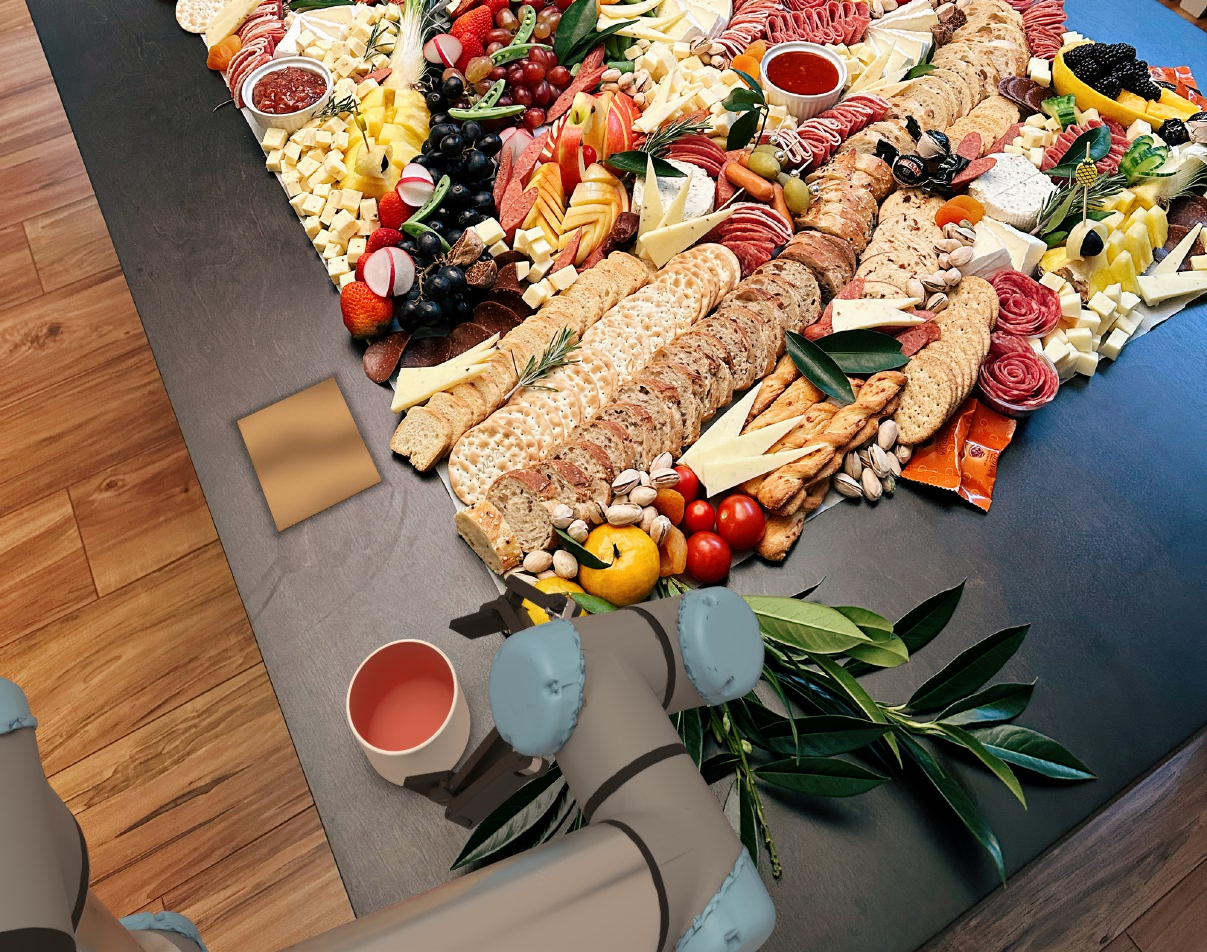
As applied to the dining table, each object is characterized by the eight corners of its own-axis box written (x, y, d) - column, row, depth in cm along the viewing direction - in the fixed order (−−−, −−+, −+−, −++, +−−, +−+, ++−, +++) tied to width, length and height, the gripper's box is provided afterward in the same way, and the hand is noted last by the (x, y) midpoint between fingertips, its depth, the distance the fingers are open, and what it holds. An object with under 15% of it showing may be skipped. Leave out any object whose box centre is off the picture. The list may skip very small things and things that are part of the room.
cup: (480, 774, 107) (466, 737, 100) (373, 804, 106) (351, 769, 99) (463, 667, 114) (448, 625, 107) (362, 695, 113) (341, 654, 106)
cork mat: (381, 481, 129) (381, 480, 129) (278, 532, 125) (278, 531, 125) (334, 377, 139) (333, 376, 139) (237, 422, 135) (237, 421, 135)
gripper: (597, 867, 83) (431, 877, 96) (654, 542, 100) (506, 588, 113) (518, 831, 80) (358, 846, 93) (591, 503, 97) (447, 555, 110)
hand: (439, 705), depth 103 cm, fingers open, 13 cm apart
